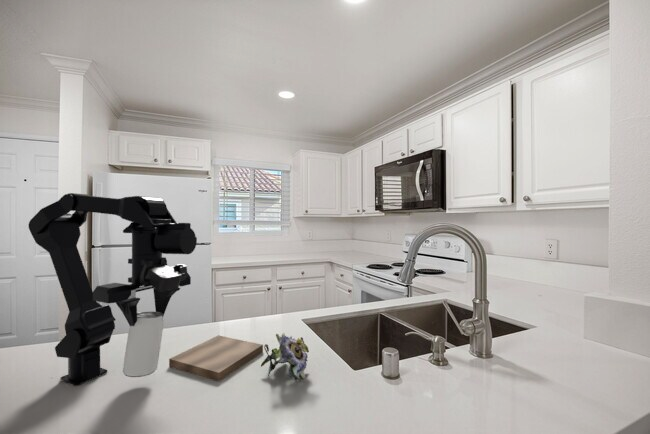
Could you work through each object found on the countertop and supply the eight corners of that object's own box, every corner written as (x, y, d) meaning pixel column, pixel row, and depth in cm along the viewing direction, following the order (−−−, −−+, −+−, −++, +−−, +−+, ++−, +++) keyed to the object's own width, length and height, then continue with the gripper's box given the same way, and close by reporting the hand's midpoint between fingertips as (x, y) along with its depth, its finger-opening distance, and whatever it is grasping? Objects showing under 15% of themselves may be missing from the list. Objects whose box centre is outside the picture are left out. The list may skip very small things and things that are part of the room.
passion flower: (301, 401, 67) (308, 374, 60) (253, 394, 67) (255, 366, 60) (307, 355, 76) (314, 327, 70) (265, 347, 76) (268, 319, 69)
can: (139, 380, 60) (148, 319, 61) (114, 374, 61) (123, 315, 63) (164, 368, 66) (171, 313, 67) (141, 363, 68) (149, 309, 69)
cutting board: (169, 367, 72) (169, 358, 72) (218, 342, 87) (218, 335, 87) (218, 381, 65) (218, 372, 65) (262, 352, 80) (262, 344, 80)
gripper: (126, 261, 53) (126, 347, 53) (207, 250, 70) (207, 316, 70) (91, 258, 58) (91, 337, 58) (174, 249, 75) (174, 310, 75)
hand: (147, 324), depth 65 cm, fingers closed on can, 5 cm apart
